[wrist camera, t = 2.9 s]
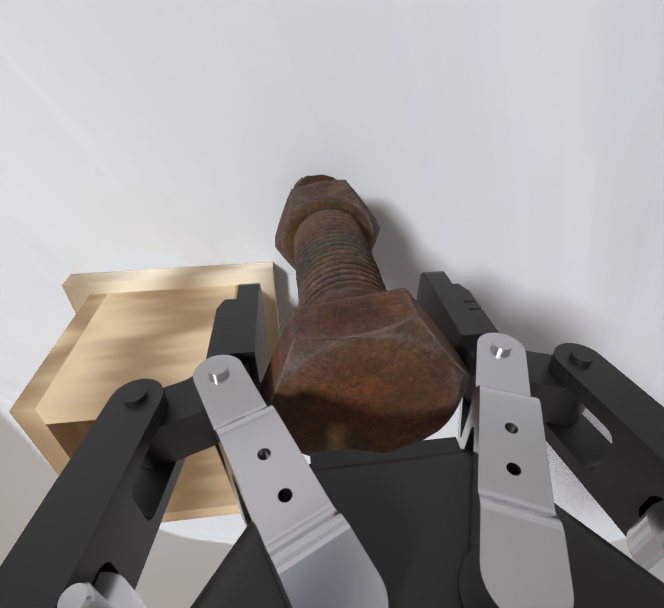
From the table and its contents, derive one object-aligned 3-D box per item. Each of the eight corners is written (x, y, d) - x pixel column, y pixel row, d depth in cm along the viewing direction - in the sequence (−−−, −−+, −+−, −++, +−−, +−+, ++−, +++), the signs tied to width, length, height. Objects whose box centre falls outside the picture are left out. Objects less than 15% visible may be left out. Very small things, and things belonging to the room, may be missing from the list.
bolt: (339, 253, 24) (400, 478, 12) (261, 228, 23) (243, 460, 11) (379, 164, 21) (511, 348, 9) (292, 130, 20) (317, 297, 8)
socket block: (272, 262, 24) (270, 376, 16) (287, 391, 31) (290, 513, 24) (71, 274, 23) (-34, 402, 15) (133, 405, 30) (83, 538, 22)
